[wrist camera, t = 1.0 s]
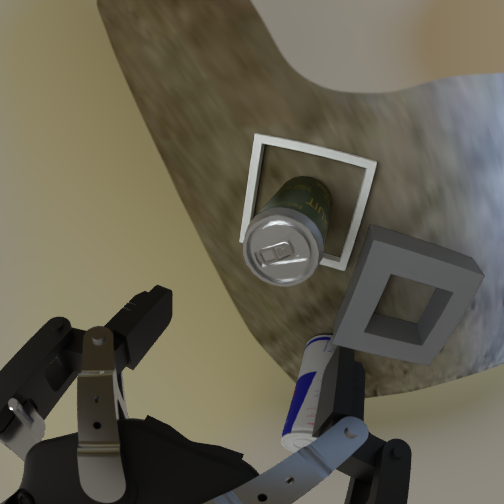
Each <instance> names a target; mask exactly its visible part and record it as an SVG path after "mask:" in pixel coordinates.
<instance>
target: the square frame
mask: <svg viewBox="0 0 504 504" xmlns="http://www.w3.org/2000/svg"><path fill="white" fill-rule="evenodd" d="M265 144H268V145H273V146H278V147H283V148H288V149H293V150H297V151H302V152H306V153H311V154H315V155H319V156H323V157H327V158H331V159H335V160H339V161H343V162H346V163H350V164H354V165H357V166H361V167H364V168H365V172H364V176H363V180H362V183H361V187H360V191H359V195H358V199H357V202H356V206H355V209H354V213H353V216H352V220H351V223H350V227H349V230H348V233H347V237H346V240H345V243H344V246H343V250H342V253H341V256H340V257H337V256H334V255H330V254H327V253H323V258H322V260H321V262H320V264H321V265H325V266H328V267H332V268H336V269H339V270H343V271H345V269H346V266H347V263H348V260H349V257H350V254H351V251H352V248H353V245H354V242H355V239H356V236H357V232H358V229H359V226H360V223H361V219H362V216H363V213H364V209H365V206H366V202H367V199H368V195H369V192H370V188H371V184H372V180H373V177H374V173H375V169H376V165H377V162H376V161H375V160H371V159H368V158H365V157H361V156H358V155H354V154H350V153H347V152H343V151H339V150H335V149H331V148H327V147H323V146H319V145H315V144H311V143H306V142H302V141H297V140H292V139H287V138H282V137H277V136H272V135H266V134H261V133H256V134H255V137H254V143H253V150H252V157H251V163H250V170H249V177H248V184H247V191H246V198H245V205H244V212H243V219H242V227H241V234H240V241H239V242H241V243H243V241H244V238H245V233H246V230H247V227H248V225H249V223H250V222H251V221H252V220H253V216H254V209H255V203H256V196H257V190H258V184H259V177H260V171H261V165H262V158H263V152H264V146H265Z"/></svg>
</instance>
